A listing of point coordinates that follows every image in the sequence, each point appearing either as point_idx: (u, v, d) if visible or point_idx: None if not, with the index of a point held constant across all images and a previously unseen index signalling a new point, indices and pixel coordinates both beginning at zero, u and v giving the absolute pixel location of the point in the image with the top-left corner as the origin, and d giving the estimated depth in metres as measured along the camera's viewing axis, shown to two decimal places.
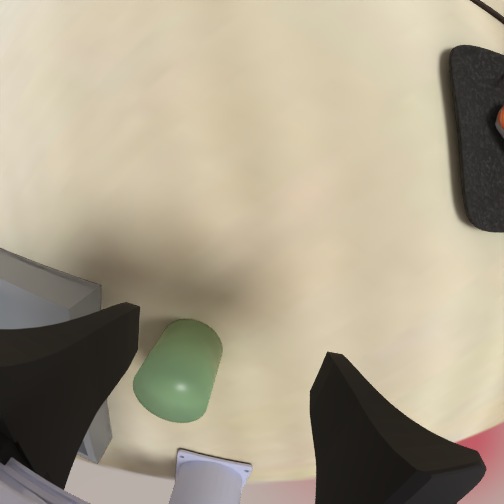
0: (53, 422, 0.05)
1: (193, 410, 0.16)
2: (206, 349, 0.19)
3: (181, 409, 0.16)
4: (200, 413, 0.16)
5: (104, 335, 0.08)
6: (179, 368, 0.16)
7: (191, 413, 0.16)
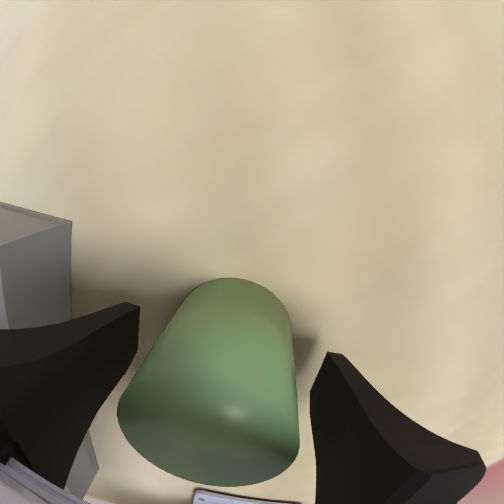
0: (53, 422, 0.05)
1: (261, 466, 0.07)
2: (278, 331, 0.09)
3: (231, 466, 0.07)
4: (276, 470, 0.07)
5: (104, 335, 0.08)
6: (239, 377, 0.06)
7: (254, 471, 0.07)
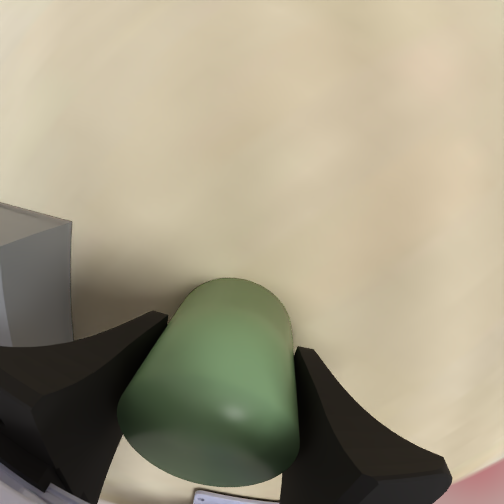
0: (91, 441, 0.05)
1: (260, 467, 0.07)
2: (278, 331, 0.09)
3: (230, 467, 0.07)
4: (276, 471, 0.07)
5: (137, 347, 0.08)
6: (239, 377, 0.06)
7: (254, 472, 0.07)
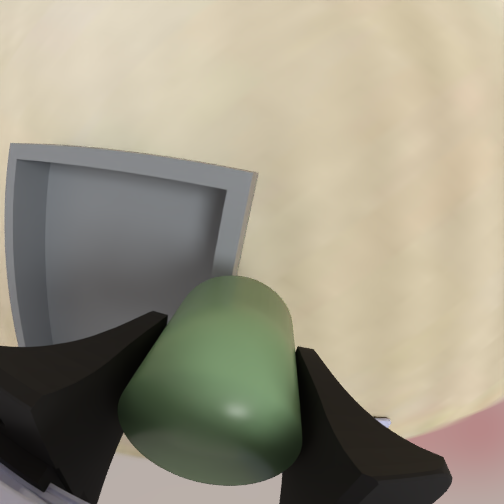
0: (90, 441, 0.05)
1: (262, 465, 0.07)
2: (281, 330, 0.09)
3: (231, 465, 0.07)
4: (277, 470, 0.07)
5: (137, 347, 0.08)
6: (244, 375, 0.06)
7: (255, 470, 0.07)
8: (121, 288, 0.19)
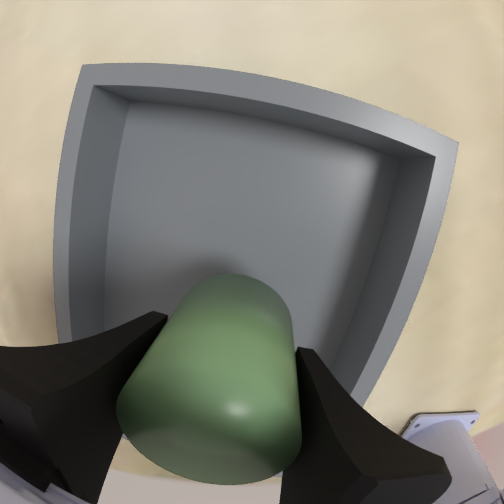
0: (90, 441, 0.05)
1: (261, 465, 0.07)
2: (281, 329, 0.09)
3: (230, 464, 0.07)
4: (276, 469, 0.07)
5: (137, 347, 0.08)
6: (244, 373, 0.06)
7: (254, 470, 0.07)
8: None
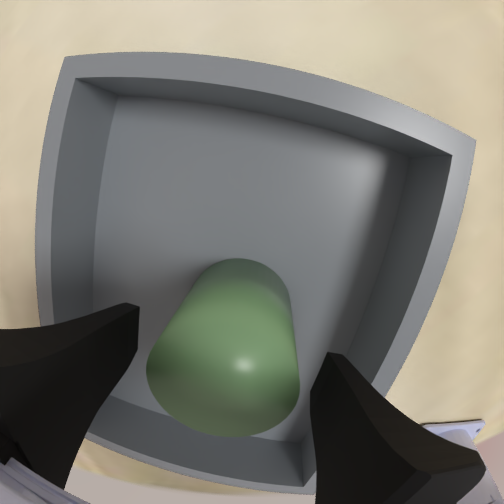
0: (53, 422, 0.05)
1: (266, 413, 0.09)
2: (281, 300, 0.11)
3: (240, 413, 0.09)
4: (279, 418, 0.09)
5: (104, 335, 0.08)
6: (254, 325, 0.08)
7: (260, 419, 0.09)
8: None
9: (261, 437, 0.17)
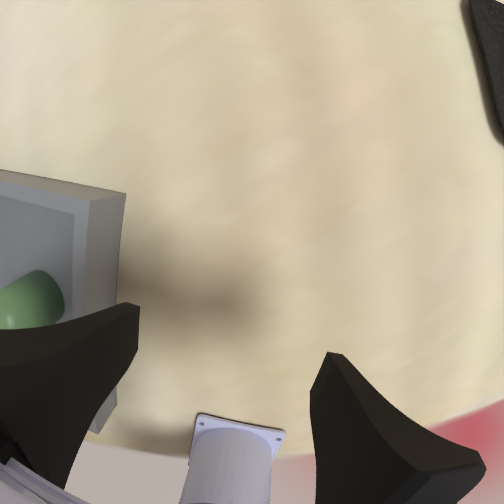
0: (53, 422, 0.05)
1: None
2: (36, 294, 0.18)
3: None
4: None
5: (104, 335, 0.08)
6: (1, 301, 0.15)
7: None
8: None
9: None
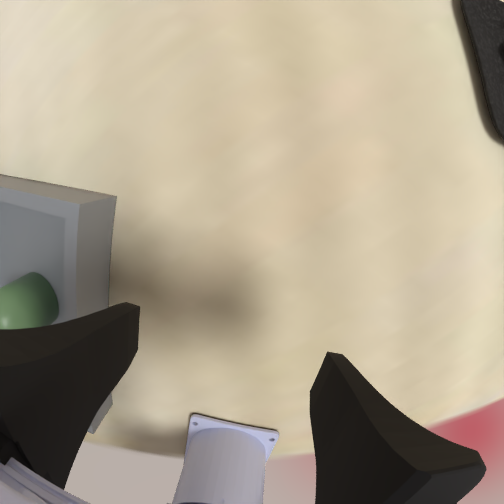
0: (53, 422, 0.05)
1: None
2: (30, 296, 0.18)
3: None
4: None
5: (104, 335, 0.08)
6: None
7: None
8: None
9: None
